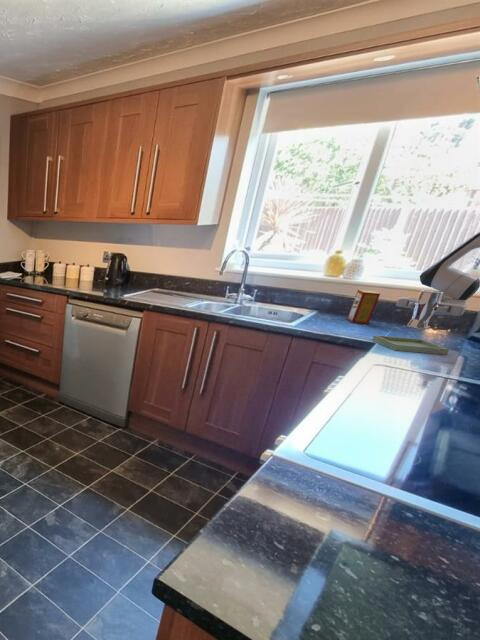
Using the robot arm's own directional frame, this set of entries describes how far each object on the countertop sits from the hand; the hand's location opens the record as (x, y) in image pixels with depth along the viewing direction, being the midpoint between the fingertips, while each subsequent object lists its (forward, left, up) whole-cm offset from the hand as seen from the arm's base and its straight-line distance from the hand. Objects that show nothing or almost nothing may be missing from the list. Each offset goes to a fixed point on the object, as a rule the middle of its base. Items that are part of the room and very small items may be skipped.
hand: (425, 307), depth 174 cm
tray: (+1, +2, -17) cm, 17 cm away
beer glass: (-1, -1, -9) cm, 9 cm away
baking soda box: (-5, -48, -17) cm, 52 cm away
